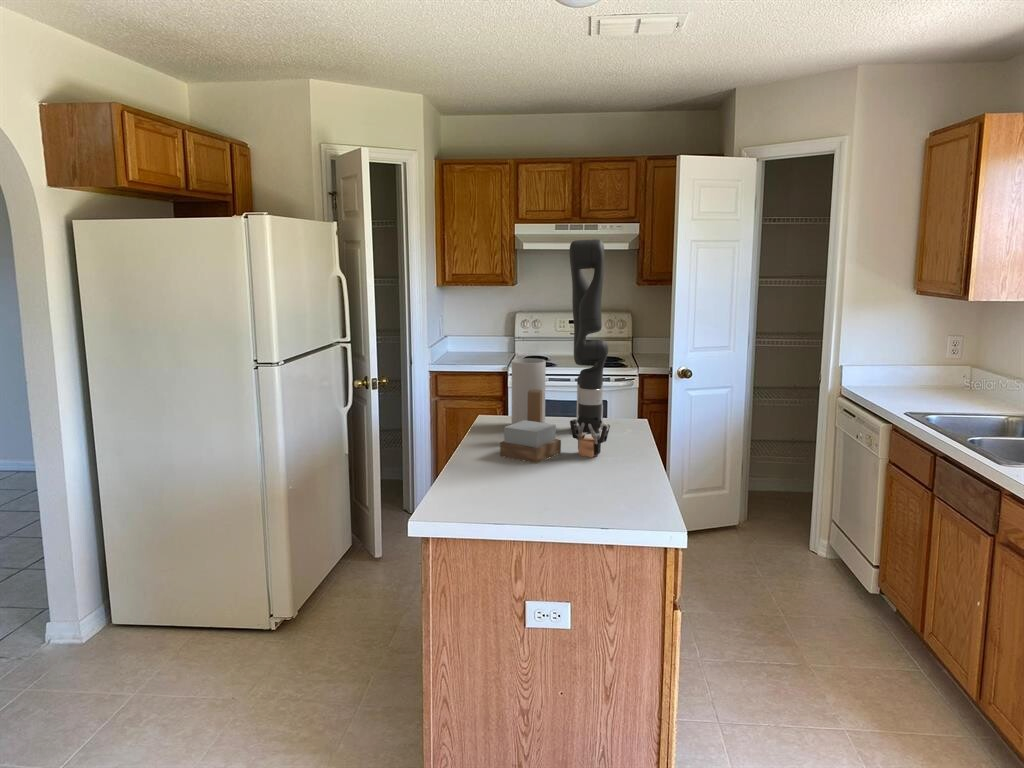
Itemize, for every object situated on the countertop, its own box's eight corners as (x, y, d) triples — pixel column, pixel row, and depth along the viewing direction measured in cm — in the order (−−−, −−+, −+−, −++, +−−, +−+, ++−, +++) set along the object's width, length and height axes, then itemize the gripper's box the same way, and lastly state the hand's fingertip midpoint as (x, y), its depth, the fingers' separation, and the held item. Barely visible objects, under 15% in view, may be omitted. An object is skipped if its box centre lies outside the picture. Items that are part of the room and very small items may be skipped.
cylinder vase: (550, 425, 278) (551, 360, 274) (534, 432, 268) (534, 364, 263) (522, 421, 285) (522, 357, 280) (505, 428, 274) (505, 361, 270)
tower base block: (525, 448, 248) (525, 433, 247) (560, 454, 240) (560, 439, 239) (500, 457, 237) (500, 442, 236) (536, 464, 229) (536, 449, 228)
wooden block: (554, 441, 255) (555, 390, 252) (553, 444, 251) (553, 392, 248) (529, 440, 257) (529, 389, 253) (527, 443, 252) (527, 391, 249)
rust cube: (586, 451, 242) (586, 436, 241) (599, 454, 239) (600, 439, 238) (578, 454, 238) (578, 439, 237) (591, 457, 235) (592, 442, 234)
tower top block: (524, 434, 246) (524, 420, 245) (555, 439, 239) (555, 424, 238) (504, 442, 236) (504, 427, 235) (536, 447, 229) (536, 432, 229)
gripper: (615, 402, 234) (614, 454, 237) (577, 397, 243) (576, 447, 246) (603, 406, 229) (602, 459, 231) (564, 400, 237) (564, 452, 240)
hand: (589, 453), depth 239 cm, fingers closed on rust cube, 5 cm apart
